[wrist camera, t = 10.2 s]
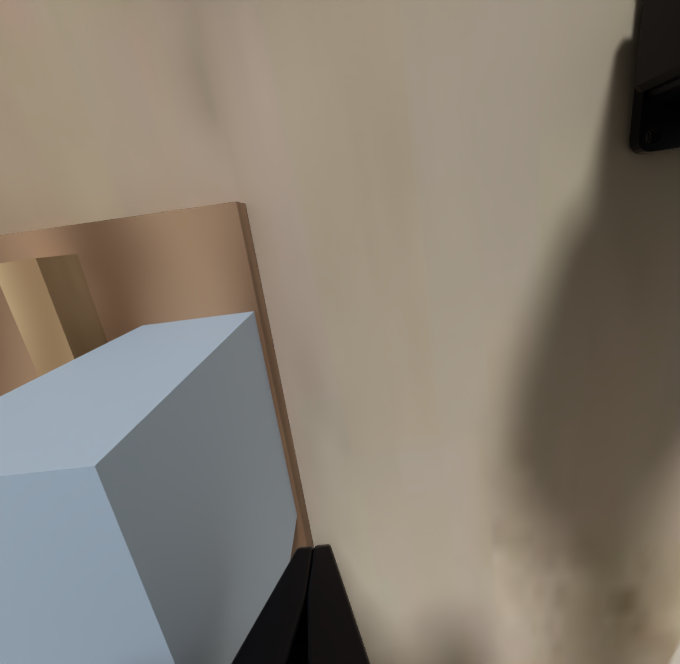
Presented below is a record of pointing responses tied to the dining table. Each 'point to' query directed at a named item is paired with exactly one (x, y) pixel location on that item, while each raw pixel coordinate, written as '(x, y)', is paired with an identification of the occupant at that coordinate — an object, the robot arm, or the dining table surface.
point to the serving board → (132, 295)
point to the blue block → (143, 500)
